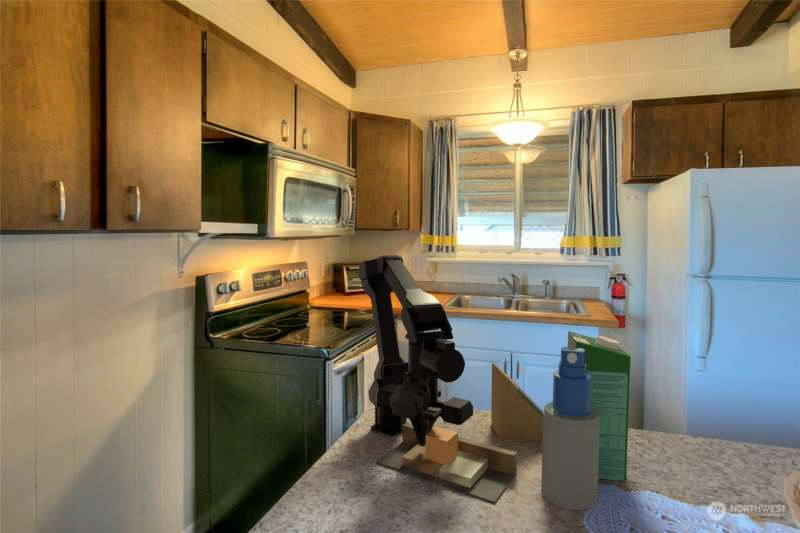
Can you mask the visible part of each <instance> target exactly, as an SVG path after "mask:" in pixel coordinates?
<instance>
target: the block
mask: <svg viewBox="0 0 800 533" xmlns="http://www.w3.org/2000/svg"><path fill="white" fill-rule="evenodd" d="M458 437H459V432H458V431H455V430H451V429H447V428H444V427H440V426H436V427H434V428H432V431H431V432H429V433H428V434H427V435H426V448H425V458H426V459H429V460H432V461H435V462H438V463H441V464H444V465H448V464H449V463H450V462H451V461H452V460H453V459H454V458H455V457H456V456H457V455H458Z"/></svg>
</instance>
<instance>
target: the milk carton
mask: <svg viewBox="0 0 800 533" xmlns="http://www.w3.org/2000/svg"><path fill="white" fill-rule="evenodd" d="M620 344H621V343H620V341H618V340H616V339H613V338H611V337H606V336H603V335H597V336H596V338H595V337H593V336H588V335H585V334H581V333H578V332H573V331H571V330H568V332H567V347H568V348H569V349H576V348H582V349H584V350H585V364H586V365H587V373H588V374H590V375H591V377H592V381H591V408H593V409H595V410H596V411H597V412H598V415H599V419H600V434H599V465H598V479H601V480H602V479H603V480H612V481H621V482H622V481H623V482H627V469H628V467H627V466H628V442H629V441H628V440H629V438H628V437H629V416H630V415H629V414H630V413H629V411H630V389H631V388H630V386H631V385H630V384H631V362H632V358H631V355H629V354H628V353H627V352H626V350H624V349H623V348H621V347H620Z"/></svg>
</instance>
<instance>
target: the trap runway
mask: <svg viewBox="0 0 800 533" xmlns="http://www.w3.org/2000/svg"><path fill="white" fill-rule="evenodd" d="M432 430H433V429H432ZM432 430H431V431H432ZM401 433H402V434H401V442H400V443H399V444H397V445H396V446H395V447H394V448H392V449H391V450H389V451H388V452H387V453H385V454H384V455H383V456H381V457H380V458H379V459H378V460H376V461H375V464H377V465H381V466H384V467H385V468H389V469H393V470H394V471H398V472H400V473H403V474H406V475H410V476H413V477H416V478H419V479H421V480H424V481H427V482H430V483H433V484H436V485H438V486H443V487H445V488H448V489H451V490H453V491H457V492H460V493H463V494H465V495H469V496H471V497H474V498H477V499H480V500H483V501H486V502H489V503H492V504H496V503H497V501H498V500H499V499H500V498H501V496H502V494H503V493H504V492H505V491H506V490H507V488H508V486H509V485H510V483H511V482H512V480H513V479H514V478H515V477H516V475H517V474H518V473H517V464H518V457H517V456H518V452H517V451H515V450H514V451H513V450H509V449H505V448H502V447H498V446H494V445H490V444H486V443H483V442H480V441H476V440H472V439H468V438H465V437H461V436H458V455H457V456H456V457H455V458H454V459H453V460H452V461H451V462H450V463H449V464H448V465H444V464H441V463H438V462H435V461H432V460H429V459H426V458H425V448H426V444H425V445H424V446H423V447H422V446H420V445H419V442H418V440H417V437H416V434H415V431H414V428H413V426H412V423H409V422H407V423H405V424H403V425H402V431H401Z"/></svg>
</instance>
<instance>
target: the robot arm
mask: <svg viewBox="0 0 800 533" xmlns="http://www.w3.org/2000/svg"><path fill="white" fill-rule="evenodd" d="M357 272H358V273H357V274H358V278H359V280H360V283H361V287H362V288H361V289H362V290H363V291H364V292H365V294H366V295H367V296H368V297H369V298H370V303H371V304H370V305H371V310H372V317H373V318H372V319H373V326H374V331H375V332H374V333H375V338H376V346H377V347H376V348H377V354H378V362H377V365H376V367H375V370H374V372H373V381H372V384H371V385H370V387H369V389H368V391H367V392H368V393H367V394H368V400H369V401H370V403H371V404H372V405H373V406H374V424H373V425H371V426H370V430H373V431H377V432H379V433H383V434H386V435H390V436H396V435H398V434H399V433H400V432H402V425H403V424H405V423H408V421H407V419H408V420H409V421H410V422H411V423H410V424H412V426H413V428H414V431H415V434H416V437H417V440H418V442H419V445H420V446H422V447H423V446H424V445H425V444H426V435H427V434H428V433H429V432H431V430H433V429H434V425H435V424H436V422H437V420H438V419H439V418H441V419H442V421H443V422H445V423H449V424H452V425H456V426H459V425H461V426H462V425H463V424H464V423H465V422H467V421H468V420H469V419H470V418H472V417H473V416H474V405H473V404H472V402H471V400H468V399H464V398H459V397H454V396H453V397H452V398H450V399H449V400H447V401H445V400H441V399H439V398H440V397H441V396H442V390H440V389H439V380H440V381H442V382H444V383H452V382H453V383H454V382H455V381H458V379H459V378H460V377H461V376H462V375H463V374H464V372H465V368H466V360H465V359H464V355H463V354H462V353H461V352H460V351H459V350H457V349H456V343H455V341H453V339H454V335H453V333H452V331H453V327H452V325H451V324H450V320H449V319H448V317H447V314H446V310H445V309H444V307H443V305H442V303H441V302H440V301H439V300H438V299H437V298H436V297H435V296H434V295H433V294H430V293H427V292H425V291H423V290H422V289H421V287H420V286H419V284H418V283H417V281H416V280H415V278H414V277H413V276H412V274H411V272H410V271H409V270H408V268H407V267H406V265H405V264H404V259H403V257H402V256H401V255H400V256H399V255H397V254H392V255H390V254H387V255H384V254H383V255H381V256H378V257H377V258H373V259H369V260H368V259H367V260H363V261H362V263H361V264H359V266H358V269H357ZM392 292H393V293H394V295H395V297H396V298H397V300H398V302H399V303H400V305H401V311H400V318H401V322H402V325H403V327H404V329H405V331H406V334H405V336H404V337H405V339H406V340H407V341H408V348H407V350H408V354H407V355H408V357H407V358H408V362H406V361H404V359H403V358H402V357H401V355H400V349H399V347H400V346H399V342H398V335H397V329H396V328H397V327H396V323H395V315H394V309H393V303H392V295H391V293H392Z"/></svg>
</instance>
